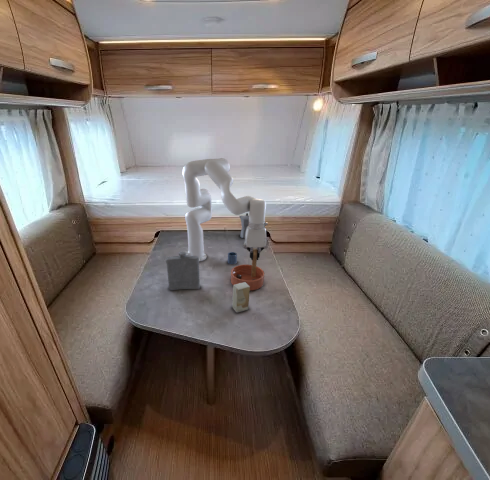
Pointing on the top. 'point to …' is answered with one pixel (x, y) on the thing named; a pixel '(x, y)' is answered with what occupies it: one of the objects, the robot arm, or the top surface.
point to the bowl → (247, 276)
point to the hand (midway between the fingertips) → (254, 258)
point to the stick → (254, 262)
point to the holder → (232, 258)
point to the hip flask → (183, 272)
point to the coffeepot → (244, 224)
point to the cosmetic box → (241, 296)
